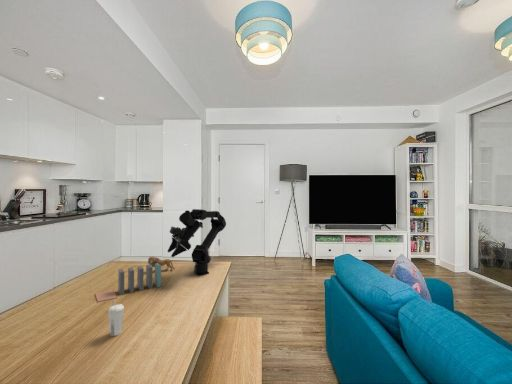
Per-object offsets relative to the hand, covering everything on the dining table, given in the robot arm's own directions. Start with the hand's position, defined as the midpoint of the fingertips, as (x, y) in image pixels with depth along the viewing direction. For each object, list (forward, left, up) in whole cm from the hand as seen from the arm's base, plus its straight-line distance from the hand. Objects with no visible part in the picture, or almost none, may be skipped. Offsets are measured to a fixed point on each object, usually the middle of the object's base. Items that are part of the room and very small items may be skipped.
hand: (169, 254), depth 128 cm
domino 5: (+6, +2, -14) cm, 15 cm away
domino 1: (+22, +2, -14) cm, 26 cm away
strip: (+28, +2, -14) cm, 32 cm away
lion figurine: (-1, -18, -14) cm, 23 cm away
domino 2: (+18, +2, -14) cm, 23 cm away
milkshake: (+29, +36, -14) cm, 48 cm away
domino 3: (+14, +2, -14) cm, 20 cm away
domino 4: (+10, +2, -14) cm, 17 cm away
